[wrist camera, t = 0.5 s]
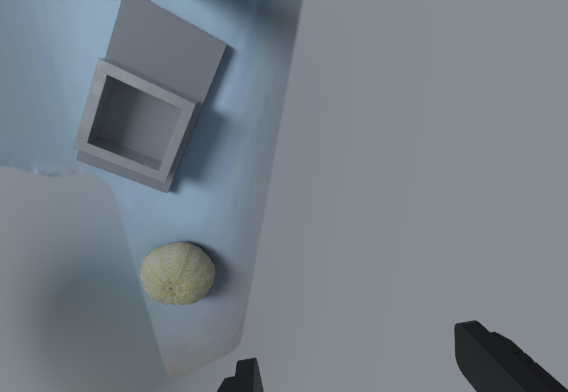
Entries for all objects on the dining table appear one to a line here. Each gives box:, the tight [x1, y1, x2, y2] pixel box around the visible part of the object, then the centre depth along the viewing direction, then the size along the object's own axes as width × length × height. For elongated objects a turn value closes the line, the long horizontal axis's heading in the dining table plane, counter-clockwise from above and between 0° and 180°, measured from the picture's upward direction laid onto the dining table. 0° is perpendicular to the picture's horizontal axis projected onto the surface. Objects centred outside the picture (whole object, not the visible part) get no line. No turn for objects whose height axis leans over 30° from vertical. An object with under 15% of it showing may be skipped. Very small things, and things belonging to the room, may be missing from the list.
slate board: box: [76, 0, 227, 193], centre depth 32 cm, size 10×18×1 cm, turn 153°
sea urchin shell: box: [140, 242, 216, 306], centre depth 39 cm, size 9×8×8 cm
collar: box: [73, 58, 199, 182], centre depth 31 cm, size 9×9×3 cm
